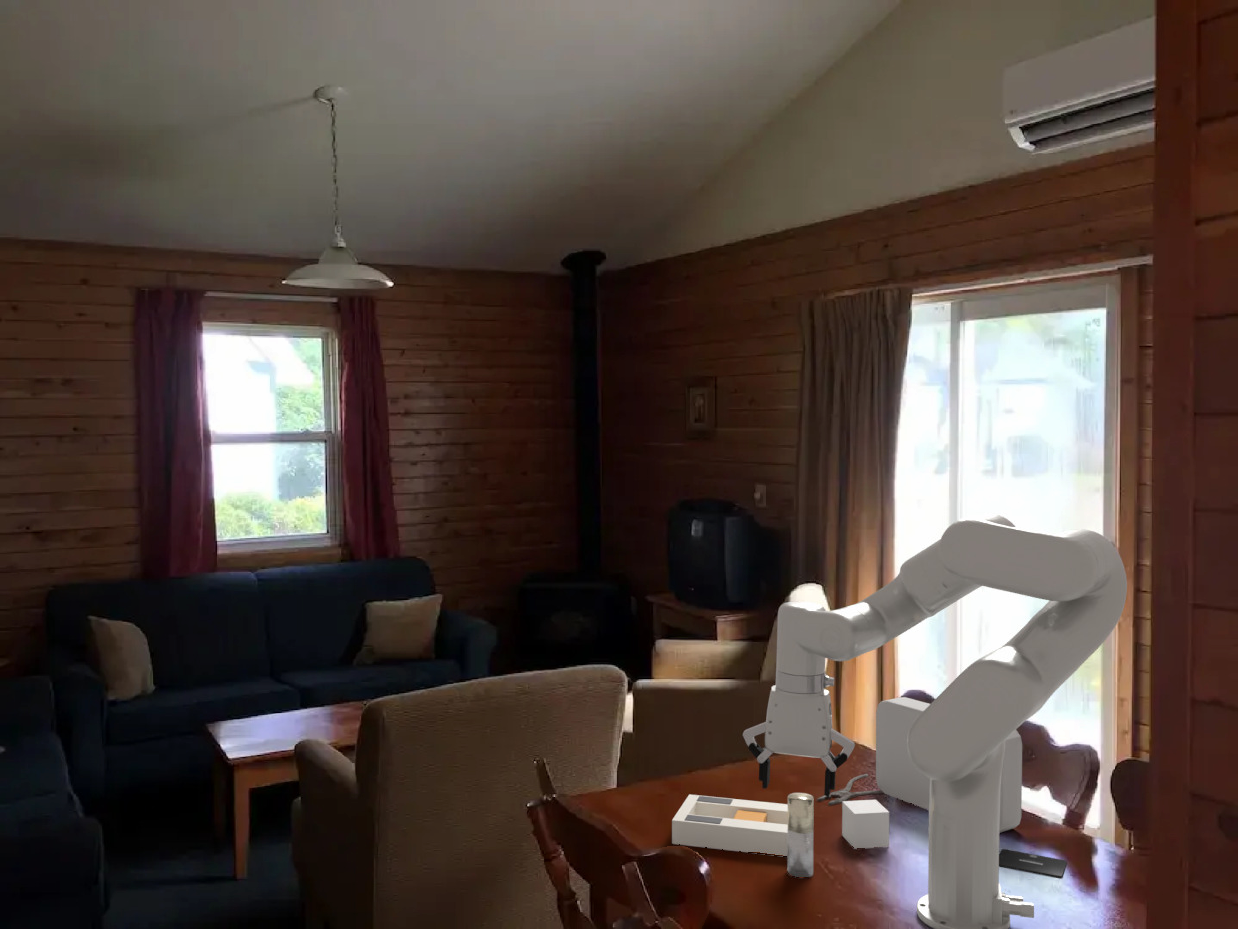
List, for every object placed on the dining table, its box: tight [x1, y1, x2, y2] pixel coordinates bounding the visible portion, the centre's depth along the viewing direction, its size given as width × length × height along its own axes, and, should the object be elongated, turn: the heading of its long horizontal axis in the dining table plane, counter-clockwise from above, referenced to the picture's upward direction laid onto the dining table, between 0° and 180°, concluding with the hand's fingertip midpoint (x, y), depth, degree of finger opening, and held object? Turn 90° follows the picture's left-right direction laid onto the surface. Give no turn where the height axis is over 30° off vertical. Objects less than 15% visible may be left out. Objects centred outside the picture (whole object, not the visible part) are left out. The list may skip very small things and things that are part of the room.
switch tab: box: [734, 810, 767, 822], centre depth 179 cm, size 5×5×2 cm
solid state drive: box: [999, 848, 1068, 879], centre depth 168 cm, size 7×10×1 cm
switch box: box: [671, 793, 788, 857], centre depth 179 cm, size 22×13×4 cm, turn 73°
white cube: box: [841, 799, 890, 850], centre depth 177 cm, size 6×6×6 cm
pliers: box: [816, 773, 885, 806], centre depth 201 cm, size 10×1×20 cm
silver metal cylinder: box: [786, 792, 815, 878], centre depth 164 cm, size 4×4×12 cm
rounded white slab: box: [875, 696, 1023, 834], centre depth 192 cm, size 29×8×18 cm, turn 33°
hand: (796, 789), depth 165 cm, fingers open, 9 cm apart
